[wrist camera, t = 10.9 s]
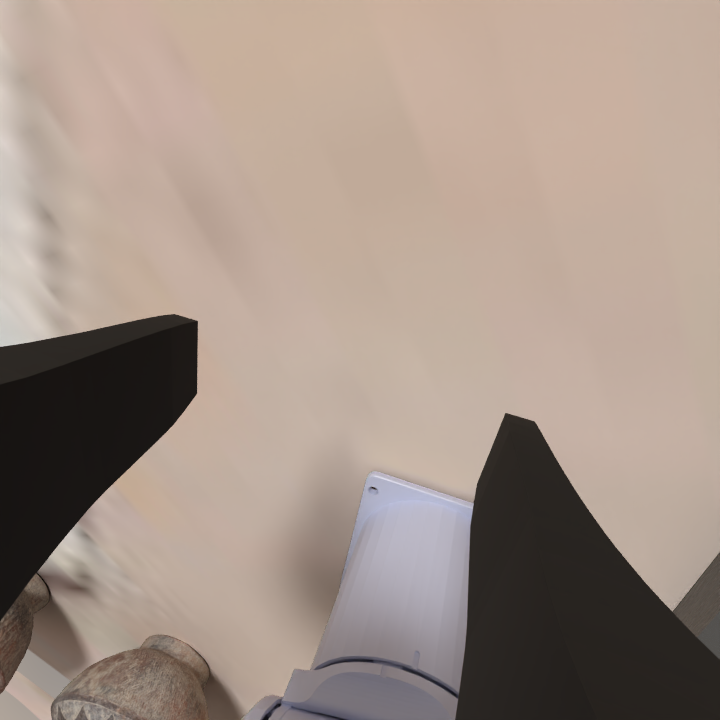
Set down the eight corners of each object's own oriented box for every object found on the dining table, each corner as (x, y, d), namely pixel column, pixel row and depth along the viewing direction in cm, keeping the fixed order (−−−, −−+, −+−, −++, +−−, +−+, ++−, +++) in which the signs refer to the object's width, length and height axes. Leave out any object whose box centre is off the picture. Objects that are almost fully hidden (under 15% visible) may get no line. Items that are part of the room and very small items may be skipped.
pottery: (-38, 508, 38) (-244, 656, 28) (254, 652, 36) (149, 872, 25) (-24, 593, 44) (-191, 742, 33) (229, 722, 41) (134, 925, 31)
